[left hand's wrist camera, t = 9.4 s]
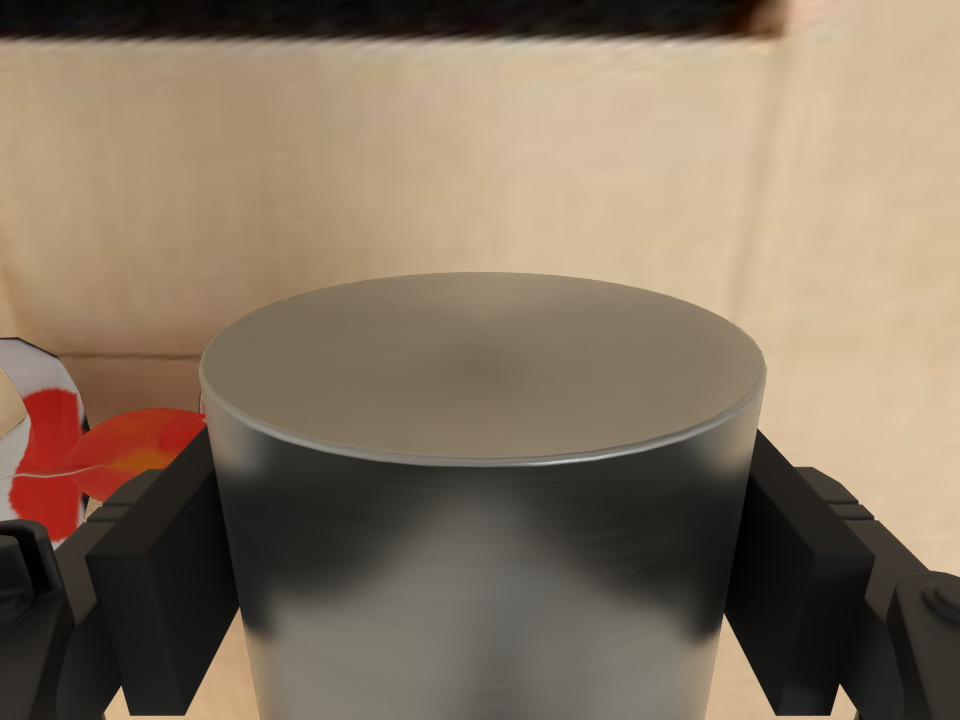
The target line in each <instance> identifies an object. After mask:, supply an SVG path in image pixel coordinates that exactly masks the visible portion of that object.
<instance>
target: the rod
mask: <svg viewBox="0 0 960 720" xmlns="http://www.w3.org/2000/svg"><path fill="white" fill-rule="evenodd" d="M766 373H767V368H766V365H765V361H764V358H763V354H762V351H761V350H760V349H759V347H758V346H757V344H756V343H755V341H754V340H753V339H752V338H751V337H750V336H749V335H747V334H746V333H745V332H744V331H743V330H742V329H741V328H739V327H737V326H736V325H734V324H733V323H731V322H730V321H728V320H727V319H725V318H723V317H721V316H719V315H717V314H715V313H713V312H711V311H709V310H706V309H704V308H701V307H699V306H696V305H694V304H691V303H689V302H686V301H683V300H680V299H677V298H674V297H670V296H667V295H664V294H660V293H656V292H652V291H649V290H645V289H640V288H635V287H631V286H626V285H621V284H615V283H609V282H604V281H597V280H590V279H583V278H575V277H565V276H555V275H542V274H528V273H501V272H464V273H437V274H422V275H409V276H399V277H390V278H382V279H374V280H367V281H361V282H355V283H349V284H344V285H338V286H334V287H329V288H325V289H320V290H316V291H312V292H308V293H305V294H301V295H297V296H294V297H291V298H288V299H285V300H282V301H279V302H276V303H273V304H271V305H268V306H266V307H263V308H261V309H259V310H256V311H254V312H252V313H250V314H248V315H246V316H244V317H242V318H240V319H238V320H236V321H235V322H233V323H232V324H230V325H229V326H227V327H226V328H224V329H223V330H222V331H221V332H220V333H218V334H217V335H216V336H215V337H214V338H213V339H212V340H211V341H210V342H209V344H208V345H207V347H206V348H205V350H204V351H203V353H202V357H201V361H200V364H199V368H198V374H199V381H200V387H201V393H202V398H203V404H204V410H205V415H206V421H207V426H208V432H209V437H210V443H211V448H212V454H213V460H214V465H215V471H216V476H217V482H218V487H219V493H220V498H221V504H222V510H223V515H224V521H225V526H226V532H227V537H228V543H229V548H230V554H231V560H232V565H233V571H234V576H235V582H236V587H237V593H238V598H239V604H240V610H241V615H242V621H243V626H244V632H245V637H246V643H247V649H248V654H249V660H250V665H251V671H252V676H253V682H254V687H255V693H256V699H257V704H258V710H259V715H260V720H704V719H705V713H706V708H707V702H708V697H709V691H710V686H711V680H712V675H713V669H714V664H715V658H716V653H717V647H718V642H719V636H720V631H721V625H722V620H723V614H724V609H725V603H726V597H727V592H728V586H729V581H730V575H731V570H732V564H733V559H734V553H735V548H736V542H737V537H738V531H739V526H740V520H741V515H742V509H743V504H744V498H745V493H746V487H747V482H748V476H749V471H750V465H751V459H752V454H753V448H754V443H755V437H756V432H757V426H758V421H759V415H760V410H761V404H762V399H763V393H764V388H765V381H766Z"/></svg>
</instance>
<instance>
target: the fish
mask: <svg viewBox="0 0 960 720" xmlns="http://www.w3.org/2000/svg"><path fill="white" fill-rule="evenodd" d="M0 366H1V368H2V369H3V370H4V371H5V373H6V374H7V375H8V377H9V378H10V379H11V381H12V382H13V384H14V385H15V387H16V389H17V391H18V392H19V394H20V396H21V398H22V400H23V402H24V405H25V407H26V409H27V412H28V413H27V417H26V418H25V419H24V420H23V421H21V422H20V423H19V424H18V425H17V426H16V427H15V428H13V429H12V430H11V431H10V432H9V433H8V434H6V435H5V436H4V437H3V438H1V439H0V521H5V520H13V519H26V520H34V521H38V522H39V523H41V524H42V525H44V526H45V527H47V530H48V533H49V537H50V540H51V543H52V546H53V550H54V551H55V550H56V549H57V548H58V547H59V546H60V545H61V544H62V543H63V542H64V541H65V540H66V539H67V538H68V537H69V536H70V535H71V534H72V533H73V532H74V531H75V530H76V529H77V528H78V527H79V526H80V525H81V524H82V523H83V519H84V515H85V512H86V508H87V504H88V501H89V497H92V498H94V499H96V500H98V501H101V502H104V501H105V500H106V499H107V498H108V497H109V496H110V495H111V494H112V493H113V492H114V491H115V490H116V489H117V488H118V487H119V486H120V485H122V484H123V483H125V482H127V481H129V480H130V479H132V478H134V477H136V476H137V475H139V474H141V473H142V472H144V471H146V470H148V469H166V468H167V466H168V465H169V464H170V463H171V462H172V461H173V460H174V459H175V458H176V457H177V456H178V455H179V454H180V453H181V451H182V450H183V449H184V448H185V447H186V446H187V445H188V444H189V443H190V442H191V441H192V440H193V439H194V437H195V436H196V435H197V434H198V433H199V432H200V431H201V430H202V429H203V428H204V427H205V426H206V425H207V421H206V415H205V410H204V404H203V398H202V393H200V400H199V413H194V412H191V411H186V410H178V409H168V408H149V409H142V410H137V411H132V412H127V413H124V414H121V415H118V416H115V417H112V418H110V419H108V420H106V421H104V422H102V423H101V424H99V425H97V426H96V427H94V428H92V429H91V430H90V428H89V425H88V421H87V418H86V414H85V411H84V407H83V404H82V400H81V397H80V393H79V391H78V389H77V387H76V385H75V384H74V382H73V380H72V378H71V376H70V375H69V373H68V372H67V370H66V369H65V367H64V365H63V364H62V362H61V361H60V359H59V358H58V357H57V356H55V355H53V354H51V353H49V352H47V351H45V350H43V349H41V348H39V347H37V346H35V345H33V344H30V343H28V342H26V341H24V340H22V339H20V338H18V337H14V338H0Z"/></svg>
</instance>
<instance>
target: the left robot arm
mask: <svg viewBox="0 0 960 720" xmlns="http://www.w3.org/2000/svg"><path fill="white" fill-rule="evenodd" d="M239 607H240V604H239V598H238V593H237V587H236V582H235V576H234V571H233V565H232V560H231V554H230V548H229V543H228V537H227V532H226V526H225V521H224V515H223V510H222V504H221V498H220V493H219V487H218V482H217V476H216V471H215V465H214V460H213V454H212V448H211V443H210V437H209V432H208V426H207V425H206V426H205V427H204V428H203V429H202V430H201V431H200V432H199V433H198V434H197V435H196V436H195V437H194V439H193V440H192V441H191V442H190V443H189V444H188V445H187V446H186V447H185V448H184V449H183V450H182V451H181V453H180V454H179V455H178V456H177V457H176V458H175V459H174V460H173V461H172V462H171V463H170V464H169V465H168V466H167V468H166V469H148V470H146V471H144V472H142V473H141V474H139V475H137V476H136V477H134V478H132V479H130V480H129V481H127V482H125V483H123V484H122V485H120V486H119V487H118V488H117V489H116V490H115V491H114V492H113V493H112V494H111V495H110V496H109V497H108V498H107V499H106V500H105V501H104V502H103V505H102V507H98V508H97V509H96V510H95V511H94V512H93V513H92V514H91V515H90V516H89V517H88V518H87V522H86V523H82V524H81V525H80V526H79V527H78V528H77V529H76V530H75V531H74V532H73V533H72V534H71V535H70V536H69V537H68V538H67V539H66V540H65V541H64V542H63V543H62V544H61V545H60V546H59V547H58V548H57V549H56V550H55V551H54V550H53V546H52V543H51V540H50V537H49V533H48V530H47V527H45V526H44V525H42V524H41V523H39V522H38V521H34V520H26V519H13V520H5V521H0V720H106V718H105V715H104V712H105V710H106V708H107V707H108V705H109V704H110V702H111V701H112V699H113V698H114V696H115V694H116V693H117V691H118V690H119V688H120V687H121V685H122V689H123V692H124V696H125V699H126V703H127V706H128V710H129V713H130V716H185V714H186V712H187V710H188V708H189V706H190V704H191V702H192V700H193V698H194V696H195V694H196V692H197V690H198V688H199V686H200V684H201V682H202V680H203V678H204V676H205V674H206V672H207V670H208V668H209V666H210V664H211V662H212V660H213V658H214V656H215V654H216V652H217V650H218V648H219V646H220V644H221V642H222V640H223V638H224V636H225V634H226V633H227V631H228V629H229V627H230V625H231V623H232V621H233V619H234V617H235V615H236V613H237V611H238V609H239ZM724 614H725V616H726V618H727V620H728V622H729V624H730V626H731V628H732V630H733V632H734V634H735V636H736V638H737V640H738V642H739V644H740V646H741V648H742V649H743V651H744V653H745V655H746V657H747V659H748V661H749V663H750V665H751V667H752V669H753V671H754V673H755V675H756V677H757V679H758V681H759V683H760V685H761V687H762V689H763V691H764V693H765V695H766V697H767V699H768V701H769V703H770V705H771V707H772V709H773V711H774V713H775V715H776V716H830V715H831V711H832V708H833V704H834V701H835V698H836V694H837V691H838V687H839V684H841V686H842V687H843V689H844V691H845V692H846V694H847V695H848V697H849V698H850V700H851V701H852V703H853V704H854V706H855V707H856V709H857V711H856V715H855V718H854V720H960V577H957V576H954V575H951V574H948V573H944V572H937V571H929V570H928V569H927V568H926V567H925V566H924V565H923V564H922V563H921V562H920V561H919V560H918V559H917V558H916V557H915V556H914V555H913V554H912V553H911V552H910V551H909V550H908V549H907V548H906V547H905V546H904V545H903V544H902V543H901V542H900V541H899V540H898V539H897V538H896V537H895V536H894V535H893V534H892V533H891V532H890V531H889V530H888V529H887V528H886V527H884V526H883V525H882V524H881V523H880V522H879V521H878V520H874V516H873V515H872V514H871V513H870V512H869V511H868V510H867V509H866V508H865V507H864V506H863V505H859V503H858V500H857V499H856V498H855V497H854V496H853V495H852V494H851V493H850V492H849V491H848V490H847V489H846V488H845V487H844V486H843V485H842V484H841V483H839V482H838V481H836V480H834V479H832V478H831V477H829V476H827V475H825V474H824V473H822V472H820V471H818V470H817V469H815V468H813V467H793V466H792V465H791V464H790V463H789V462H788V461H787V460H786V458H785V457H784V456H783V455H782V454H781V453H780V452H779V451H778V450H777V449H776V448H775V447H774V446H773V445H772V443H771V442H770V441H769V440H768V439H767V438H766V437H765V436H764V435H763V434H762V433H761V432H760V431H759V429H758V428H757V432H756V437H755V443H754V448H753V454H752V459H751V465H750V471H749V476H748V482H747V487H746V493H745V498H744V504H743V509H742V515H741V520H740V526H739V531H738V537H737V542H736V548H735V553H734V559H733V564H732V570H731V575H730V581H729V586H728V592H727V597H726V603H725V609H724Z"/></svg>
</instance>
